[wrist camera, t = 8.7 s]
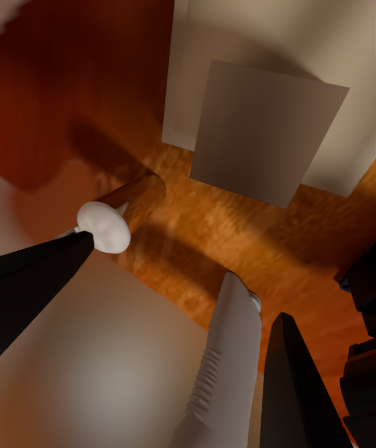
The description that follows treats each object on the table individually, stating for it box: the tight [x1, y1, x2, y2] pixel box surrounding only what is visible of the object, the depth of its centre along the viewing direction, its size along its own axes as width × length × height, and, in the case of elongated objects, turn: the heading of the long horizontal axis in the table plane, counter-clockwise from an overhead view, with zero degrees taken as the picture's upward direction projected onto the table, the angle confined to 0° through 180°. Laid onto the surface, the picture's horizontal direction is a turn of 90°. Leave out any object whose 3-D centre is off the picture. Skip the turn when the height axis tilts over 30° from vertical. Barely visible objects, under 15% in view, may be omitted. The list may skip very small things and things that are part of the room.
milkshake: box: [55, 174, 166, 253], centre depth 20 cm, size 4×5×10 cm
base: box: [162, 0, 376, 198], centre depth 13 cm, size 14×12×3 cm
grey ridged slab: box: [168, 271, 262, 448], centre depth 19 cm, size 11×4×22 cm, turn 30°
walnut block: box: [189, 59, 350, 209], centre depth 12 cm, size 5×5×6 cm
